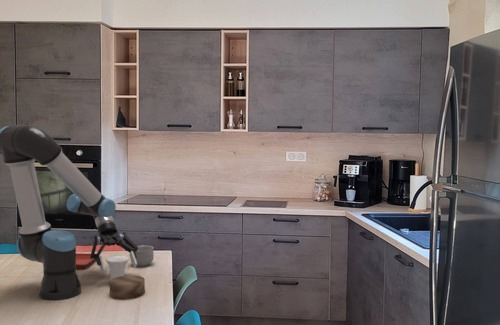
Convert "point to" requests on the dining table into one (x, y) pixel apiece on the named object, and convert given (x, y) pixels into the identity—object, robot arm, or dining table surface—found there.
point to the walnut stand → (127, 287)
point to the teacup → (144, 255)
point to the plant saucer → (83, 260)
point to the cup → (117, 266)
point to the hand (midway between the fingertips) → (120, 268)
